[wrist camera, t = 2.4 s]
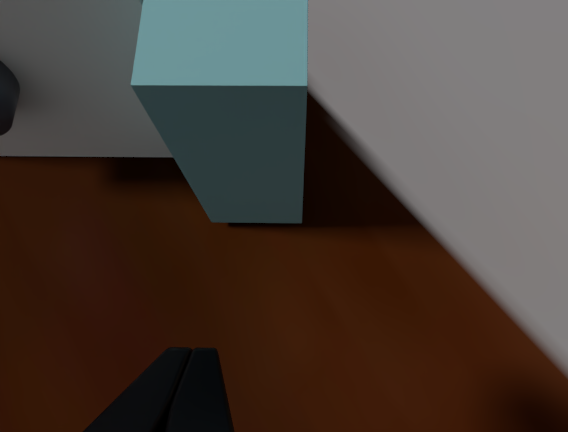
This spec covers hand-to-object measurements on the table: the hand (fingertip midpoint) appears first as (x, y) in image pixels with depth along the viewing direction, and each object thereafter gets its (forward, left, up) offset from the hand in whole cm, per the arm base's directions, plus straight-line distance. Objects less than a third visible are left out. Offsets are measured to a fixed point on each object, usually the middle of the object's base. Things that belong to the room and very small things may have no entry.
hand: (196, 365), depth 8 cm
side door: (+11, 0, -8) cm, 14 cm away
